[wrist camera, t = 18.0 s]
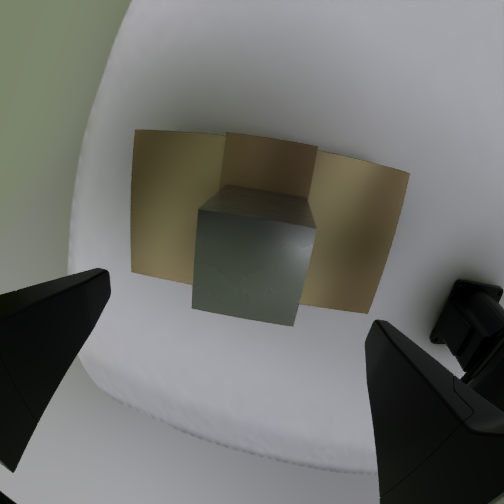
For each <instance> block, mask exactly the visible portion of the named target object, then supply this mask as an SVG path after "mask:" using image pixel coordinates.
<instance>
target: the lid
mask: <svg viewBox="0 0 504 504" xmlns="http://www.w3.org/2000/svg"><path fill="white" fill-rule="evenodd" d="M317 149H318V147H317V146H312V145H307V144H301V143H296V142H290V141H284V140H278V139H272V138H266V137H259V136H252V135H244V134H236V133H228V132H227V133H226V136H222V135H213V134H203V133H191V132H178V131H162V130H135V136H134V148H133V162H132V181H131V270H132V272H134V273H138V274H143V275H147V276H152V277H157V278H161V279H166V280H171V281H176V282H181V283H186V284H191V285H193V272H194V256H195V242H196V229H197V217H198V209H199V208H200V207H201V206H202V205H203V204H204V203H205V202H206V201H208V200H209V199H210V198H211V197H212V196H213V195H214V194H216V193H217V192H218V191H219V190H220V189H221V188H223V187H224V186H225V185H226V184H227V185H234V186H240V187H247V188H253V189H260V190H266V191H272V192H278V193H284V194H289V195H295V196H300V197H306V198H307V200H308V203H309V206H310V209H311V212H312V215H313V218H314V221H315V224H316V227H317V230H316V235H315V239H314V244H313V248H312V253H311V257H310V261H309V265H308V270H307V274H306V278H305V282H304V286H303V290H302V294H301V298H300V302H299V304H303V305H309V306H316V307H322V308H329V309H336V310H343V311H350V312H358V313H365V314H368V312H369V309H370V307H371V304H372V301H373V299H374V296H375V293H376V290H377V288H378V285H379V282H380V279H381V276H382V273H383V270H384V267H385V264H386V261H387V258H388V254H389V251H390V248H391V245H392V241H393V238H394V234H395V231H396V227H397V224H398V220H399V216H400V213H401V209H402V205H403V201H404V197H405V193H406V188H407V184H408V179H409V175H410V173H407V172H404V171H401V170H397V169H394V168H390V167H387V166H383V165H379V164H375V163H371V162H367V161H363V160H359V159H355V158H351V157H347V156H342V155H338V154H333V153H328V152H324V151H319V150H317Z"/></svg>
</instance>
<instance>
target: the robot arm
mask: <svg viewBox="0 0 504 504" xmlns="http://www.w3.org/2000/svg"><path fill="white" fill-rule="evenodd" d="M460 284H461V285H460ZM459 285H460V287H459ZM498 292H499V293H498ZM502 294H503V289H502V288H501V287H498V286H493V285H488V284H483V283H478V282H473V281H467V280H462V279H459V280H457V281H456V282H455V284H454V287H453V289H452V291H451V294H450V296H449V298H448V301H447V303H446V305H445V307H444V309H443V312H442V314H441V316H440V318H439V320H438V322H437V324H436V326H435V328H434V330H433V332H432V334H431V336H430V341H431V342H432V343H433V344H446V345H447V346H448V348H449V350H450V352H451V353H452V355H453V356H455V357H456V359H457V361H458V362H459V364H460V366H461V368H462V369H463V371H464V372H466V373H465V375H464V376H463V377H462V378H461V379H458V378H457V377H456V376H453V374H452V373H451V372H450V371H449V370H447V369H446V368H445V367H444V366H443V365H441V364H440V363H439V362H438V361H436V360H435V359H434V358H433V357H431V356H430V355H429V354H428V353H427V352H425V351H424V350H423V349H422V348H420V347H419V346H418V345H417V344H415V343H414V342H413V341H412V340H410V339H409V338H408V337H406V336H405V335H404V334H403V333H401V332H400V331H399V330H398V329H396V328H395V327H394V326H393V325H391V324H390V323H389V322H387V321H385V320H375V321H374V322H373V324H372V326H371V329H370V331H369V333H368V336H367V338H366V341H365V356H366V375H367V387H368V393H369V400H370V407H371V414H372V421H373V429H374V437H375V446H376V455H377V466H378V477H379V492H380V497H381V498H380V504H504V309H503V307H502V306H501V305H500V304H499V301H500V299H501V296H502ZM110 295H111V287H110V276H109V272H108V271H107V270H105V269H101V268H95V269H91V270H88V271H84V272H80V273H77V274H73V275H69V276H66V277H62V278H58V279H55V280H51V281H48V282H44V283H40V284H37V285H33V286H30V287H26V288H23V289H19V290H17V291H12V292H9V293H5V294H1V295H0V463H1V464H2V465H3V466H5V467H6V468H7V469H8V470H10V471H11V472H12V473H13V472H14V471H15V470H16V468H17V465H18V463H19V461H20V459H21V457H22V454H23V452H24V450H25V448H26V446H27V444H28V442H29V440H30V438H31V436H32V434H33V432H34V430H35V428H36V426H37V423H38V422H39V420H40V418H41V416H42V414H43V413H44V411H45V409H46V407H47V405H48V403H49V401H50V400H51V398H52V396H53V394H54V393H55V391H56V389H57V388H58V386H59V384H60V382H61V381H62V379H63V377H64V376H65V374H66V372H67V370H68V369H69V367H70V365H71V364H72V362H73V361H74V359H75V357H76V355H77V354H78V353H79V351H80V349H81V348H82V346H83V345H84V343H85V341H86V340H87V338H88V337H89V335H90V334H91V332H92V330H93V329H94V327H95V325H96V323H97V321H98V319H99V317H100V315H101V313H102V311H103V309H104V307H105V306H106V304H107V302H108V300H109V298H110ZM434 338H435V339H434ZM0 504H16V503H15V502H14V501H13V500H11V499H10V498H9V497H7V496H6V495H5V494H4V493H2V492H1V491H0Z"/></svg>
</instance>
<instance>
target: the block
mask: <svg viewBox="0 0 504 504" xmlns="http://www.w3.org/2000/svg"><path fill="white" fill-rule="evenodd" d="M316 230H317V227H316V224H315V221H314V218H313V215H312V212H311V209H310V206H309V203H308V200H307V198H306V197H300V196H295V195H289V194H284V193H278V192H272V191H266V190H260V189H253V188H247V187H240V186H234V185H227V184H226V185H225V186H224V187H223V188H221V189H220V190H219V191H218V192H217V193H216V194H214V195H213V196H212V197H211V198H210V199H209V200H208V201H206V202H205V203H204V204H203V205H202V206H201V207H200V208H199V209H198V217H197V229H196V242H195V256H194V272H193V291H192V308H193V309H198V310H203V311H207V312H212V313H218V314H223V315H228V316H233V317H239V318H244V319H250V320H256V321H261V322H267V323H273V324H280V325H286V326H293V325H294V321H295V317H296V313H297V310H298V306H299V302H300V298H301V294H302V290H303V286H304V282H305V278H306V274H307V270H308V265H309V261H310V257H311V253H312V248H313V244H314V239H315V235H316Z"/></svg>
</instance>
